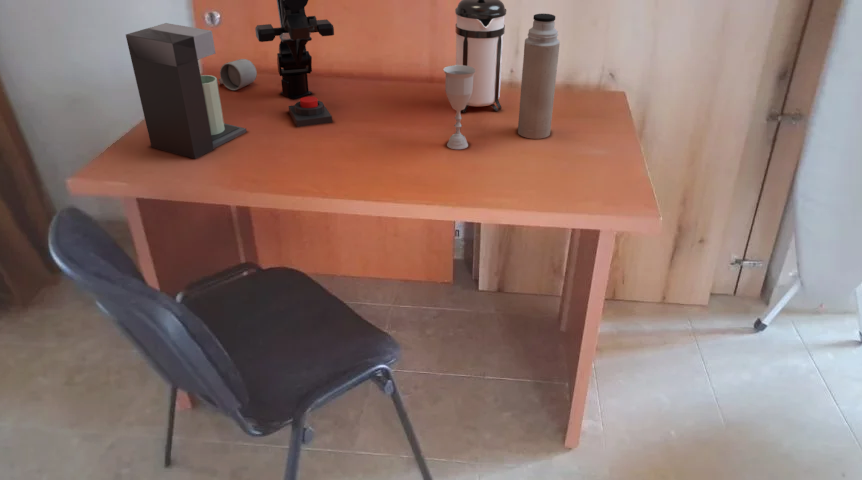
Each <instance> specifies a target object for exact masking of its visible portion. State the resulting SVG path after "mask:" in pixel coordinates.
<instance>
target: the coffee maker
mask: <svg viewBox="0 0 862 480" xmlns="http://www.w3.org/2000/svg"><path fill="white" fill-rule="evenodd" d="M125 39H126V42H127V47H128V51H129V56H130V60H131V65H132V67H133V68H132V69H133V73H134V77H135V82H136V86H137V91H138V95H139V100H140V104H141V108H142V112H143V117H144V120H145V121H144V122H145V127H146V129H147V134H148V138H149V143H150V147H151V148H154V149H158V150H161V151H165V152H168V153H172V154H174V155H179V156H183V157H187V158H190V159H194V160H196V159H198V158H200V157H202V156H205V155H206V154H208V153H210V152H212V151H214V150H215V149H216V148H218V147H220V146H221V145H224V144H226V143H228V142H230V141H232V140H234V139H235V138H237V137H239V136H241V135H244V134H245V133H247V132H248V131H247V127H241V126H237V125H233V124H230V123H226V122H224V125H225V130H224V131H223V132H221V133H219V134H216V135H211V132H210V126H209V120H208V115H207V109H206V103H205V98H204V92H203V87H202V81H201V71H200V65H199V60H201V59H204V58H207V57H210V56H212V55H216V48H215V42H214V36H213V30H209V29H203V28H198V27H193V26H192V27H191V26H186V25H180V24H174V23H169V22H165V23H160V24H157V25H153V26H150V27H148V28H143V29H140V30H136V31H133V32H130V33H126V34H125Z"/></svg>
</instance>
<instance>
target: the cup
mask: <svg viewBox="0 0 862 480" xmlns="http://www.w3.org/2000/svg"><path fill="white" fill-rule="evenodd" d="M200 75H201V74H200ZM201 81H202V87H203V92H204V98H205V103H206V109H207V115H208V120H209V126H210V132H211V135H216V134H219V133H221V132H223V131H224V130H225V125H224V123H225V119H224V113H223V107H222V102H221V95H220V89H219V83H218V82H219V81H218V77H216V76H215V75H211V74H210V75H209V74H202V75H201Z"/></svg>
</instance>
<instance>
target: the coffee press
mask: <svg viewBox="0 0 862 480" xmlns="http://www.w3.org/2000/svg"><path fill="white" fill-rule="evenodd" d="M505 7H506V6H505V5H504V3H503V1H501V0H460V1H459V2H458V4H457V6H456V7H455V10H454V13H455V15H456V23H455V35H456V36H455V65H464V66H470V67H473V68H475V69H476V71H475V73H474V75H473V92H472V94H471V97H470V100H469V101H468V103H467V105H466V107H465V109H463V110H461V113H463V114H464V113H466V112H467V109H468V108H469V107H486V106H487V107H488V106H489V107H492V109H493V110H494V111H495V112H499V111H501V110H502V107H503V106H502V104H501V103H500V101H499V100H500V96H501V86H502V85H501V82H502V81H501V80H502V67H503V66H502V65H503V51H504V35H505V31H506V25H505V19H506V18H505V17H506V15H507V9H506V8H505Z"/></svg>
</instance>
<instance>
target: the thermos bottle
mask: <svg viewBox="0 0 862 480" xmlns="http://www.w3.org/2000/svg"><path fill="white" fill-rule="evenodd" d="M532 19H533V21H532V27H530V28H529V29H528V33H527V37H526V38H525V39H524V43H523V44H524V45H523V47H524V48H523V59H522V70H521V71H522V72H521V85H520V96H519V111H518V122H517V125H518V126H517V133H518V135H520V137H523V138H527V139H532V140H533V139H535V140H539V139H540V140H541V139H545V138H548V137H549V136H550V135H551V132H552V131H551V130H552V120H553V110H554V101H555V93H556V81H557V74H558V63H559V54H560V45H561V44H560V43H561V41H560V40H559V39H558V36H559V33H558V32H559V31H558V30H557V28H555V25H556V24H555V23H556V22H555V20H556V15H554V14H551V13H536V14H533V18H532Z"/></svg>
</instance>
